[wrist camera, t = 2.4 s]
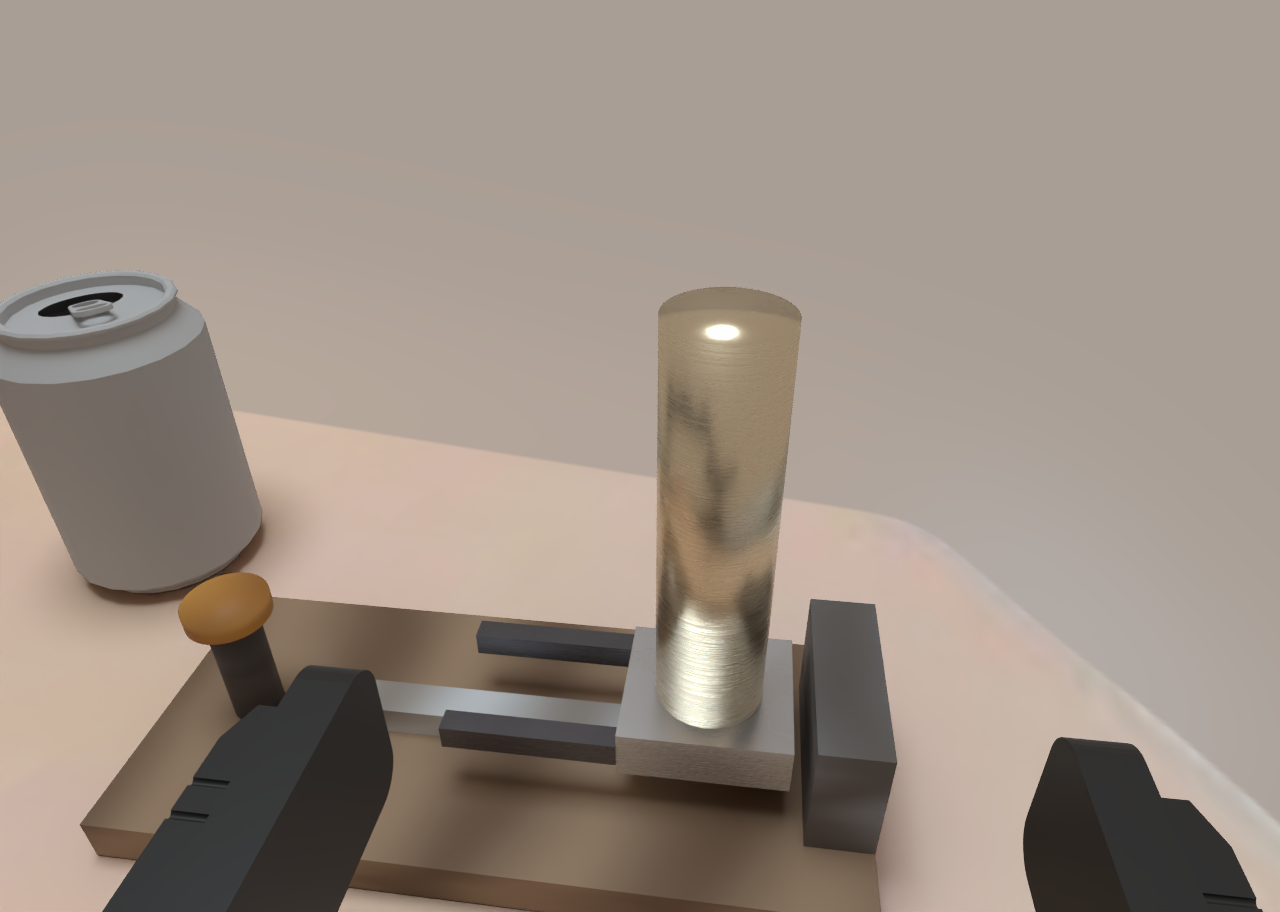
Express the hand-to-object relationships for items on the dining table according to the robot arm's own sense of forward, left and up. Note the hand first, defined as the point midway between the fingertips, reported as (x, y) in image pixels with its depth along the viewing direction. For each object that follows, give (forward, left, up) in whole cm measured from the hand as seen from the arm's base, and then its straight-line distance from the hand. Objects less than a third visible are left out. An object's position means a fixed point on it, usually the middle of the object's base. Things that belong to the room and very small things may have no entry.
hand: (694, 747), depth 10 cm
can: (-24, +20, -16) cm, 35 cm away
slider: (-3, +11, -13) cm, 17 cm away
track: (-7, +11, -16) cm, 21 cm away
